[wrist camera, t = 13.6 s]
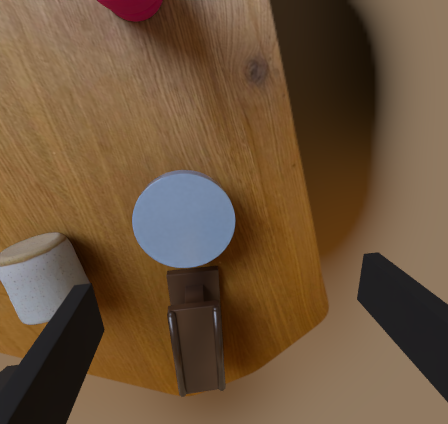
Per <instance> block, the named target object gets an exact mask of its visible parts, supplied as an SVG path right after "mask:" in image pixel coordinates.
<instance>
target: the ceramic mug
mask: <svg viewBox="0 0 448 424" xmlns="http://www.w3.org/2000/svg"><path fill="white" fill-rule="evenodd" d="M0 280H1V282H2V283H3V285H4V287H5V289H6V291H7V293H8V295H9V297H10V300H11V302H12V304H13V306H14V308H15V310H16V312H17V314H18V316H19V318H20V320H21V321H22V322H23V323H25V324H28V325H35V324H41V323H45V322H48V321H50V319H51V318H52V316H53V315H54V314H55V312H56V311H57V309H58V308H59V306H60V305H61V304H62V302H63V301H64V299H65V298H66V296H67V295H68V293H69V292H70V291H71V289H72V288H73V286H74V285H80V284H89V283H90V282H89V280H88V278H87V276H86V274H85V272H84V270H83V267H82V265H81V263H80V261H79V259H78V257H77V255H76V253H75V250H74V248H73V246H72V244H71V243H70V241H69V240H68V238H67V237H66V236H65V235H64V234H61V233H56V232H54V233H46V234H42V235H38V236H35V237H32V238H29V239H26V240H23V241H21V242H18V243H16V244H14V245H12V246H10V247H8V248H6V249H5V250H3V251H2V252H1V253H0Z"/></svg>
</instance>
